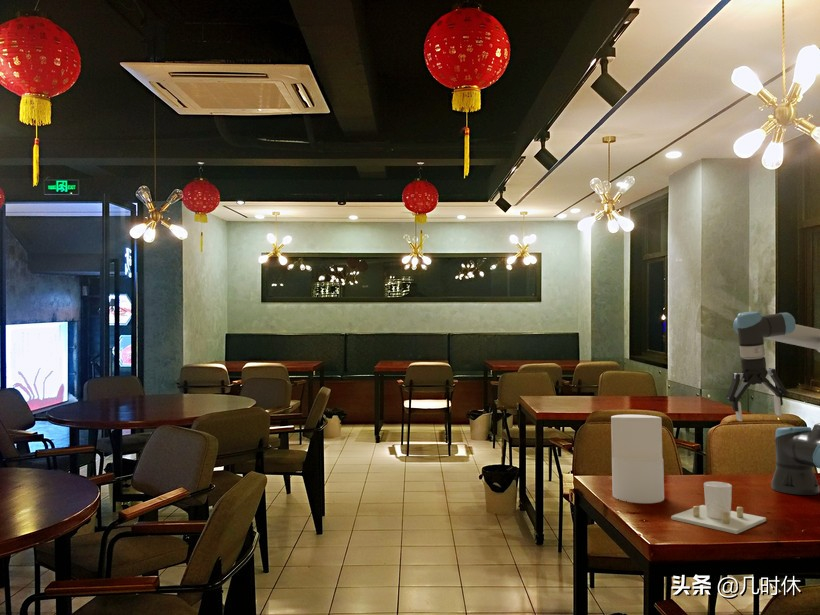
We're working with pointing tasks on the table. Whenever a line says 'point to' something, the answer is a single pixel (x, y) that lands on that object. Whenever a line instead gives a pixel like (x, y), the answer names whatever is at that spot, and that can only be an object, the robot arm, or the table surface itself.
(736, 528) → the standoff plate
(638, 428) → the cylinder
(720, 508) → the white cup
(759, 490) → the table surface
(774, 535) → the table surface
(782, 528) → the table surface
